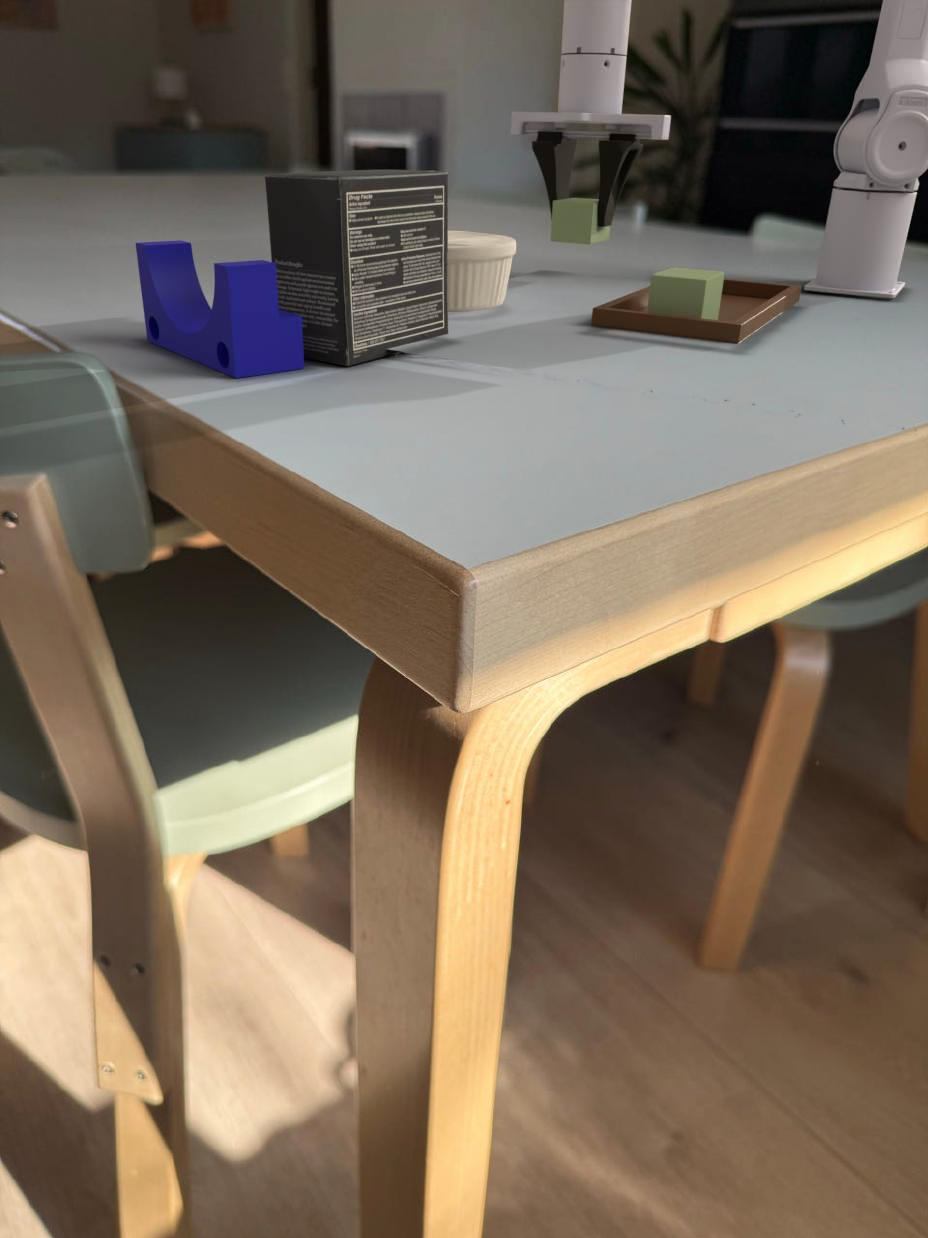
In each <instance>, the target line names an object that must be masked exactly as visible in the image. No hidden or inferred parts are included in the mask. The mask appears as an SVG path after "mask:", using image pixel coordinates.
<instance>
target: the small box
mask: <svg viewBox="0 0 928 1238" xmlns="http://www.w3.org/2000/svg"><path fill="white" fill-rule="evenodd" d="M448 182H449V173H448V171H444V170H420V169H419V170H415V169H355V170H351V169H350V170H326V171H325V170H324V171H307V172H289V173H285V172H284V173H270V174H265V175H264V183H265V194H266V206H267V218H268V219H267V220H268V231H269V233H268V234H269V244H270V260H271V262H273V263H276V274H277V291H278V308H279V310H283V311H286V312H289V313H293V314H296V315H299V316H302V330H303V351H304V359H311V360H315V361H321V362H326V363H332V364H334V365H340V366H345V367H351V366H355V365H358V364H362V363H366V362H368V361H374V360H376V359H380V358H384V357H387V356H391V355H396V354H399V353H403V350H402V351H401V350H394V348H397V347H400V346H404V345H405V346H406V345H409V344H413V343H417V342H421V341H425V340H429V339H434V338H438V337H441V336H445V335H449V311H448V309H447V307H448V301H447V289H448V287H447V286H448V284H447V277H448V274H447V273H448V269H447V266H448V263H447V254H448V231H449V224H448V223H449V206H448V205H449V186H448V185H449V183H448Z"/></svg>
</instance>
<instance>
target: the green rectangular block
mask: <svg viewBox="0 0 928 1238" xmlns="http://www.w3.org/2000/svg"><path fill="white" fill-rule="evenodd" d="M725 273H726V272H724V271H720V270H719V271H718V270H706V269H694V268H686V267H675V266H673V267H670V268H667V269H664V270H661V271H658V272H656V273H652V274H650V275H651V276H650V282H649V283H650V284H649V286H650V291H649V300H648V308H647V312H650V313H659V314H668V315H677V316H685V317H694V318H703V319H712V320H718V315H719V308H720V301H721V295H722V288H723V281H724V278H725Z"/></svg>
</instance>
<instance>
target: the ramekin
mask: <svg viewBox="0 0 928 1238" xmlns="http://www.w3.org/2000/svg"><path fill="white" fill-rule="evenodd" d="M516 253H517V241H516V239H515V238H514V237H510V236H507V235H501V234H493V233H484V232H475V231H467V230H448V254H447V263H448V266H447V269H448V273H447V274H448V277H447V284H448V286H447V287H448V289H447V301H448V307H447V309H448V312H469V311H470V312H472V311H482V310H490V309H494V308H497V307H499V306H501V305H503V303H504V301H505V299H506V294H507V289H508V286H509V285H508V284H509V283H508V282H509V279H510V274H511V269H512V262H513V257H514V255H515V254H516Z"/></svg>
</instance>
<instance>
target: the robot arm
mask: <svg viewBox="0 0 928 1238" xmlns="http://www.w3.org/2000/svg"><path fill="white" fill-rule="evenodd" d="M632 2H633V1H632V0H564V1H563V14H562V16H563V17H562V32H561V48H560V66H559V82H558V96H557V97H558V99H557V112H553V111H511V120H510V121H511V122H510V135H511V136H537V137H536V140H532V141H531V150H532V152H533V154H534V156H535V158H536V161H537V163H538V166H539V169H540V172H541V174H542V177H543V178H542V179H543V181H544V185H545V188H546V194H547V198H548V203H549V211H550V218H551V221H552V209H553V201H554V200H561V199H569V198H570V184H571V182H570V181H571V175H572V169H573V164H574V158H575V154H576V150H577V149H576V148H577V146H578V138H600V140H598V154H599V193H598V199H599V201H598V218H597V221H598V226H599V227H606V226H610V227H611V226H612V223H613V219H614V215H615V211H616V208H617V205H618V202H619V200H620V196H621V194H622V192H623V189H624V187H625V184H626V181H627V179H628V177H629V175H630V174H631V171H632V169H633V168H634V165H635V164H636V162H637V160H638V159H639V157H640V156H641V154H642V151H643V149H644V148H643V147H644V144H643V143H641V141H640V140H653V141H654V140H655V141H668V140H670V139H669V137H670V131H671V129H670V128H671V120H672V115H668V114H637V113H623V112H622V111H623V100H624V89H625V79H626V67H627V58H628V57H627V56H628V47H629V46H628V45H629V35H630V34H629V33H630V25H631V23H630V22H631V21H630V20H631V14H632V13H631V11H632ZM874 36H875V37H874V41H873V46H872V52H871V56H870V61H869V65H868V68H867V69H866V71H865V73H864V75H863V77H862V79H861V81H860V82H859V85H858V87H857V88H856V90H855V93H854V98H853V102H852V106H851V109H850V112H849V114H848V115H847V117H846V118H845V120H844V121H843V123H842V124H841V126H840V127H839V129H838V132H837V134H836V135H835V138H834V143H833V157H834V162H835V164H836V166H837V168H838V170H839V171H840V174H839V175H838V177H837V178H836V179H835V180H833V188H832V191H831V198H830V202H829V207H828V213H827V218H826V223H825V228H824V234H823V239H822V245H821V249H820V255H819V260H818V264H817V270H816V276H815V278H814V279H813V280H810V281H809V282H808V283H806V284H804V286H803V290H804V291H808V292H815V293H827V294H829V293H830V294H837V295H838V294H839V295H847V296H849V295H850V296H858V297H859V296H860V297H869V298H877V299H878V298H879V299H888V300H889V299H892V300H893V299H895V298H896V297H897V296H898V295H899V293H900V292H901V291H902V290H903V289H904V287H905V285H906V282H904V281H898V278H899V273H900V269H901V264H902V259H903V256H904V251H905V246H906V242H907V239H908V238H907V237H908V233H909V229H910V226H911V225H910V224H911V220H912V216H913V212H914V207H915V203H916V198H917V195H918V192H917V191H918V189H919V186H920V181H919V177H920V176H922V175H923V174H924V173H925V172H926V171H927V170H928V0H882V3H881V9H880V14H879V19H878V23H877V27H876V32H875V35H874ZM573 124H586V125H587V124H588V125H589V124H590V125H593V124H594V125H605V130H617V131H600V130H599V131H598V130H597V131H596V130H593V131H592V130H571V129H572V127H573ZM563 129H564V130H563ZM565 129H566V130H565ZM567 129H570V130H567ZM568 137H570V138H568ZM571 137H573V138H571ZM601 138H603V140H602V139H601ZM605 138H606V140H604V139H605Z"/></svg>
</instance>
